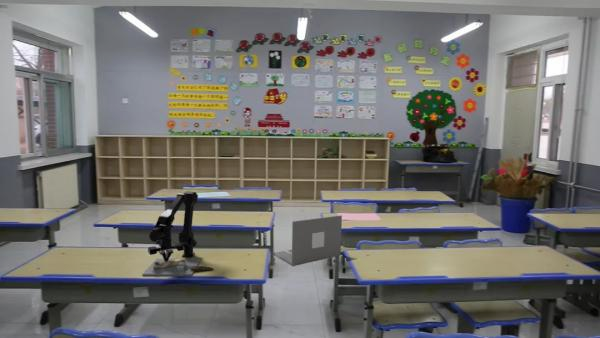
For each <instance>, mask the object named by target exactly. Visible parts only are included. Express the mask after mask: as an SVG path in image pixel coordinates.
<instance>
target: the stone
mask: <svg viewBox="0 0 600 338" xmlns="http://www.w3.org/2000/svg"><path fill="white" fill-rule="evenodd" d="M190 269H192V270H195V271H198V272H199V271H201V272H205V271H213V270H214V268H213V267H210V266H206V265H205V266H204V265H198V266H190Z"/></svg>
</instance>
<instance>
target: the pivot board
mask: <svg viewBox="0 0 600 338" xmlns="http://www.w3.org/2000/svg"><path fill="white" fill-rule="evenodd" d="M176 259H177V258H169V260H168V261H171V260H176ZM184 259H185V262H186V263H185V264H184V271H178V264H177V265H172V266H168V267H163V268H159V269H153V264H154V263H155V262H159V263H161V262H165V261H164V259H163V258H156V259H154V260H153V262H152V263H151V264H150V265H149V266H148V268H146V269H145V271H143V273H142V277H192V276H193V275H194V273H195V272H196V270H192V269H190V266H199V264H200V262H201V260H202V258H184Z"/></svg>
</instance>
